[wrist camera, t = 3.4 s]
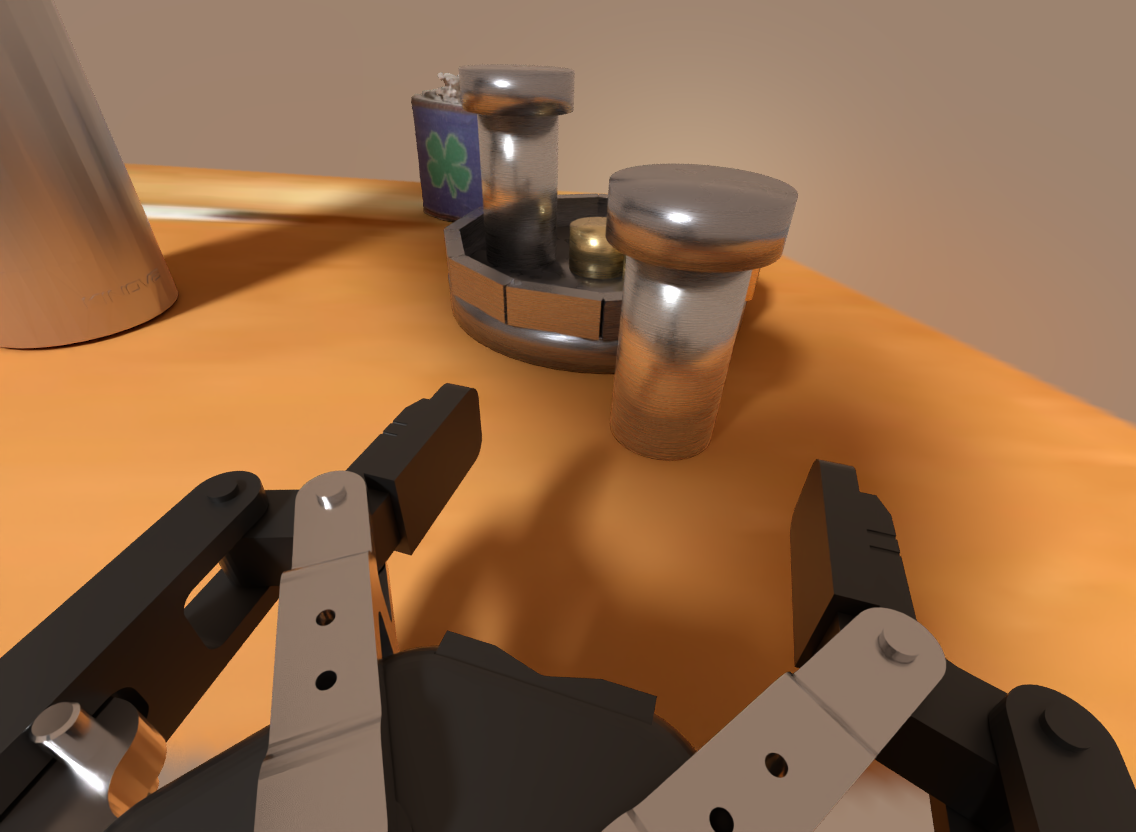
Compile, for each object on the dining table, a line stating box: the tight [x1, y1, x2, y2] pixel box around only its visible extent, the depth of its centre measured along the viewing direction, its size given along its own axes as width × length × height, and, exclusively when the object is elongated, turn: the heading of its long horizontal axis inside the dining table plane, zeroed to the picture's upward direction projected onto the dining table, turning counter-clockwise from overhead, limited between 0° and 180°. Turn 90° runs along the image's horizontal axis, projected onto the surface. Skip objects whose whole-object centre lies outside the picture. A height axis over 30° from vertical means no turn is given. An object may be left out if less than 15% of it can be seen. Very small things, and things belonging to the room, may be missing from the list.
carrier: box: [444, 65, 760, 374], centre depth 30 cm, size 18×18×12 cm
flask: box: [411, 73, 483, 222], centre depth 43 cm, size 9×3×11 cm, turn 55°
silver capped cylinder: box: [605, 164, 798, 460], centre depth 20 cm, size 6×6×10 cm
